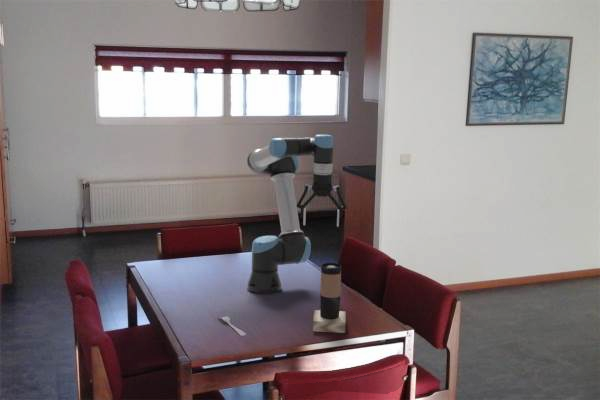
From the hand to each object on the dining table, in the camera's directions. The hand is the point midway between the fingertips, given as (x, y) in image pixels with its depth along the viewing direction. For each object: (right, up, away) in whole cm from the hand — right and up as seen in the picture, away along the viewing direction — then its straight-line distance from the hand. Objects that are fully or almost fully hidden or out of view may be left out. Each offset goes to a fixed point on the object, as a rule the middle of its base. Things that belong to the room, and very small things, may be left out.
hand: (321, 225), depth 257 cm
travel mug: (+3, -34, -15) cm, 38 cm away
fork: (-35, -38, -17) cm, 54 cm away
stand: (+3, -38, -15) cm, 41 cm away
